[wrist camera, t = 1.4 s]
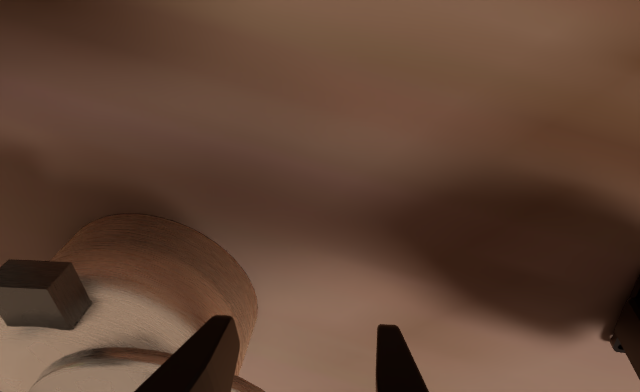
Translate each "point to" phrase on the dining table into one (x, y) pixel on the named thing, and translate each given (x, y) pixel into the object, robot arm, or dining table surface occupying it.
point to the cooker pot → (118, 295)
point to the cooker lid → (110, 371)
